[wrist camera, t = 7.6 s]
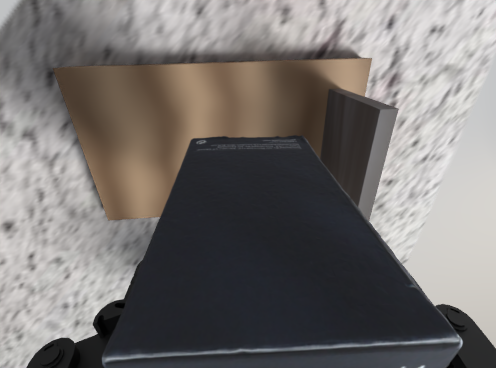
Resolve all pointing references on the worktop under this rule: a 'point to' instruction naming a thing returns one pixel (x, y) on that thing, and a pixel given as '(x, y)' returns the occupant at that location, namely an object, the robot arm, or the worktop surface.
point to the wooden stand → (221, 121)
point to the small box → (272, 273)
